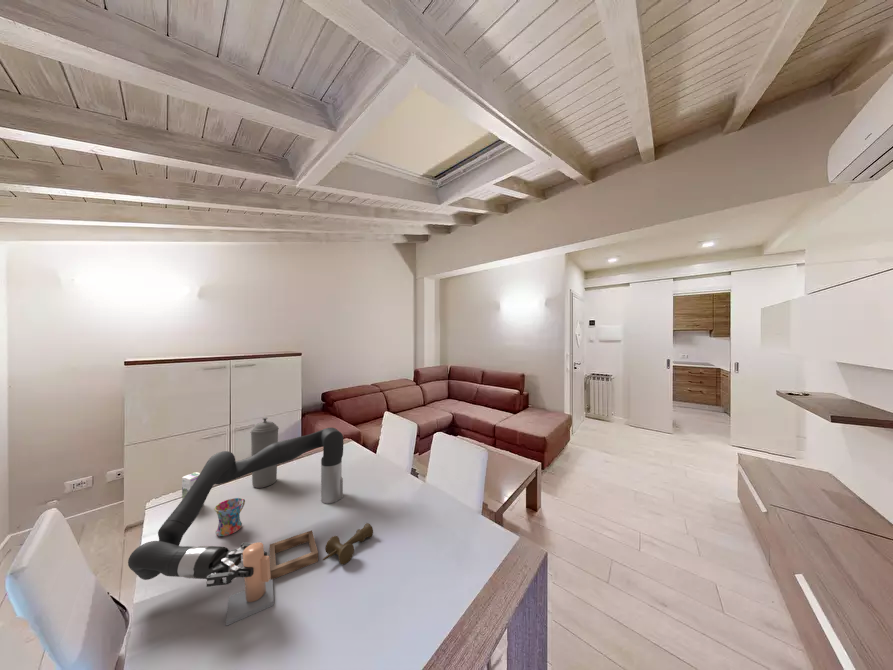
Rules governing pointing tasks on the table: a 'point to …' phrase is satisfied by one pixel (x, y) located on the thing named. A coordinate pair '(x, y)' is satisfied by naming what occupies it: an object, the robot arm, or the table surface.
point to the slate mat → (248, 604)
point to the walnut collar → (297, 562)
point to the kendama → (347, 544)
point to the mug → (229, 516)
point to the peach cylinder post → (256, 571)
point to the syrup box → (188, 482)
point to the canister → (260, 439)
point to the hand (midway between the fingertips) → (259, 563)
